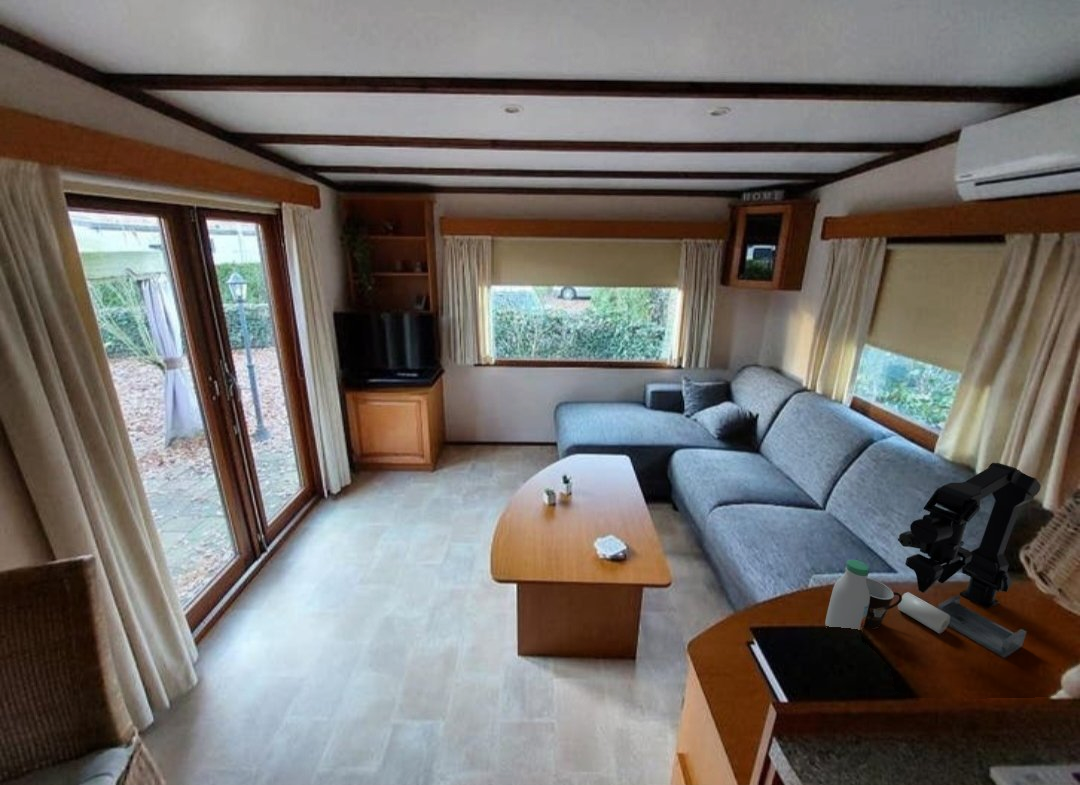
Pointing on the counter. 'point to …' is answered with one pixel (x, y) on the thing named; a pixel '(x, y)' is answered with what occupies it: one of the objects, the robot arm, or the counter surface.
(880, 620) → the coffee mug
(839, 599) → the milk bottle
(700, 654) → the counter surface
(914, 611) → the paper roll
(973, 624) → the cradle holder
